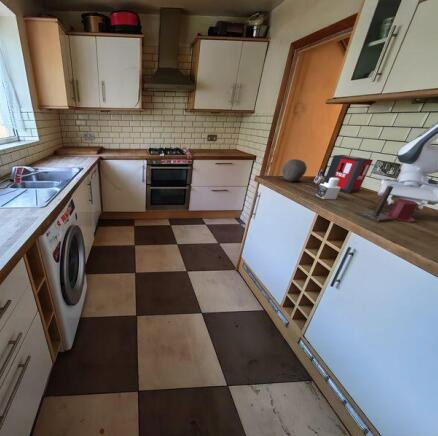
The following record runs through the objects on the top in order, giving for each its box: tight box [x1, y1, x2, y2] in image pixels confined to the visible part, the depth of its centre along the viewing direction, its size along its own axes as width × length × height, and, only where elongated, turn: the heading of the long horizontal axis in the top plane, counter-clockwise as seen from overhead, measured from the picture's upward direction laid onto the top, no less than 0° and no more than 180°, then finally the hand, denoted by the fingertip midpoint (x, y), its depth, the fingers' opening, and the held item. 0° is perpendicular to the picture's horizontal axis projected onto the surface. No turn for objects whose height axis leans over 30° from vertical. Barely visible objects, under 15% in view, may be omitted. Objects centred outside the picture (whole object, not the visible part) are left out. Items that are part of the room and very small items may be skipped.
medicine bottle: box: [315, 176, 340, 200], centre depth 129 cm, size 7×7×12 cm
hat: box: [382, 199, 419, 223], centre depth 106 cm, size 10×10×8 cm
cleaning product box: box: [322, 154, 373, 194], centre depth 144 cm, size 16×9×20 cm, turn 22°
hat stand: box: [357, 186, 395, 223], centre depth 104 cm, size 9×9×15 cm
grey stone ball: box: [281, 158, 308, 183], centre depth 158 cm, size 14×14×15 cm
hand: (404, 207), depth 106 cm, fingers open, 8 cm apart
